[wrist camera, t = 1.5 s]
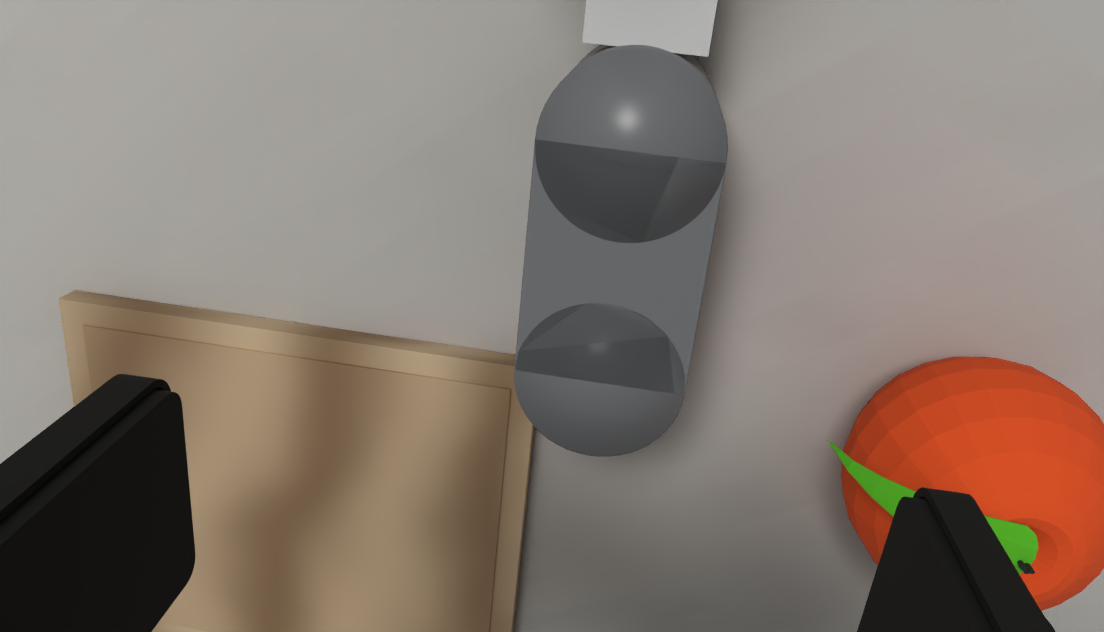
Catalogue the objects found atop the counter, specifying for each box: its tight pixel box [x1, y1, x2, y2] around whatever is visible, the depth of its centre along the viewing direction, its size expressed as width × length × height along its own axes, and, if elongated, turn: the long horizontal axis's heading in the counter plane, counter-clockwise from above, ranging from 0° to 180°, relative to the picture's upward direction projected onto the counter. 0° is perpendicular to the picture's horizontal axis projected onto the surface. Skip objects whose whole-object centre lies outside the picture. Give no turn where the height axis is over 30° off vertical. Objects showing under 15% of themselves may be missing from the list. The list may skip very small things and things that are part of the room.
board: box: [59, 290, 535, 632], centre depth 30 cm, size 16×14×1 cm
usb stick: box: [514, 0, 728, 456], centre depth 22 cm, size 13×4×5 cm, turn 175°
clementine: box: [828, 357, 1104, 611], centre depth 23 cm, size 8×7×7 cm
